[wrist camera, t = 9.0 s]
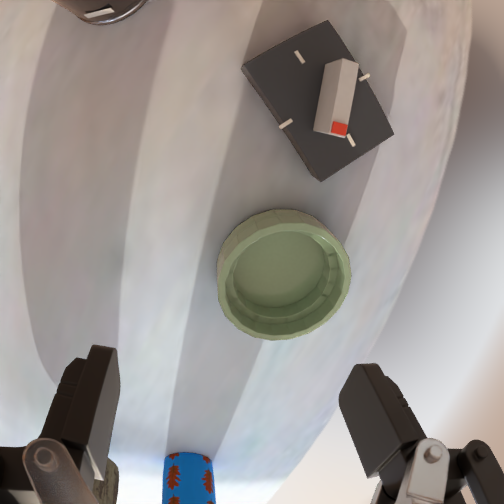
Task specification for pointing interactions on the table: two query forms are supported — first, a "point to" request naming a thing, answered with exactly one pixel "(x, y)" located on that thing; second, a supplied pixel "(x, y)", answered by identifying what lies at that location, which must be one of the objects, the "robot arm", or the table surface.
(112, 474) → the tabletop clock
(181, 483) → the thermos
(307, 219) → the basin
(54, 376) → the table surface
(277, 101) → the rotary switch dial
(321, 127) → the red tipped lever
